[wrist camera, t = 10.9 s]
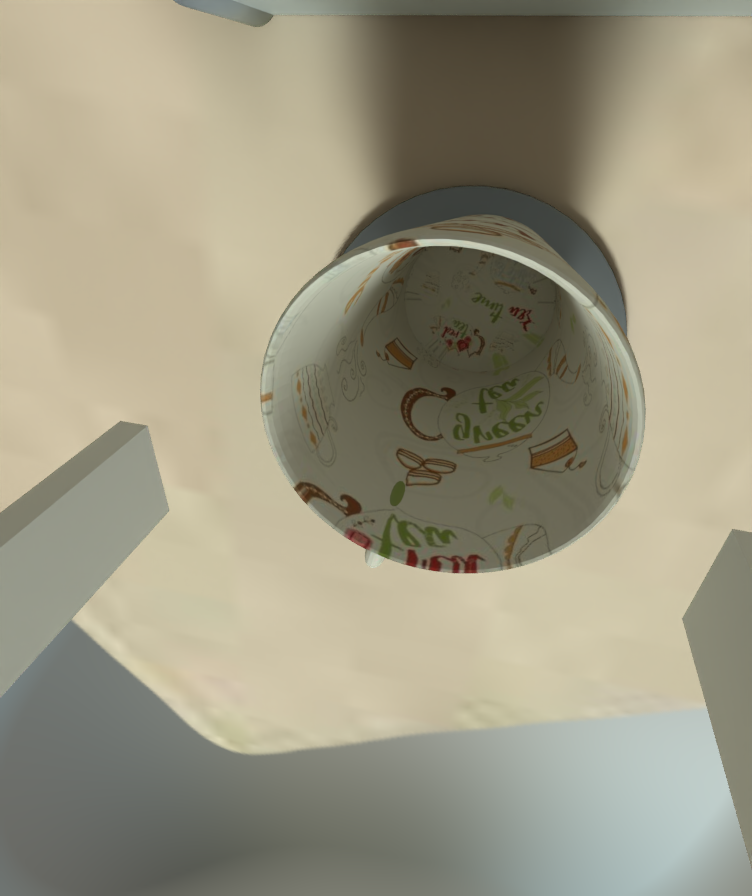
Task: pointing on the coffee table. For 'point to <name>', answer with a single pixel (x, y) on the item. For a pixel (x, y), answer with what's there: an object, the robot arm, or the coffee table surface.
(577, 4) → the fence
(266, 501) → the coffee table surface
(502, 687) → the coffee table surface
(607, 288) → the coaster
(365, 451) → the mug
